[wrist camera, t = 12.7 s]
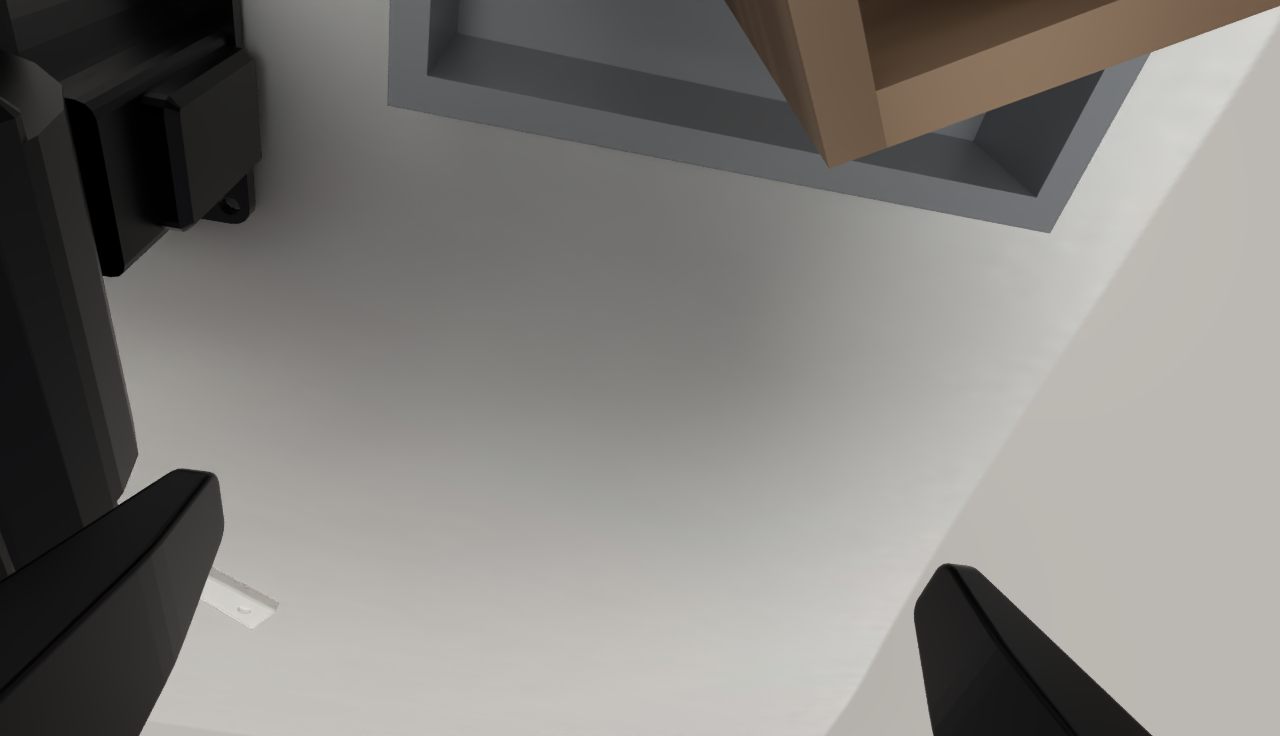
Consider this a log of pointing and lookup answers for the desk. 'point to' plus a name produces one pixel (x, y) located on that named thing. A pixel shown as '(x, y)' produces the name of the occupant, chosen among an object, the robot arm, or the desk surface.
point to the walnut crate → (949, 56)
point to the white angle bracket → (237, 599)
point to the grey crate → (727, 103)
